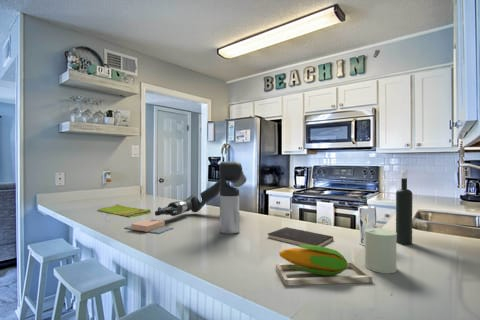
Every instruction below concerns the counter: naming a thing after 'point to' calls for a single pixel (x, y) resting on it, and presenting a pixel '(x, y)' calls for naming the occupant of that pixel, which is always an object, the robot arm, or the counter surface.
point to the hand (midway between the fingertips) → (155, 213)
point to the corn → (315, 259)
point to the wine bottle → (404, 212)
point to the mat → (158, 230)
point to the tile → (148, 225)
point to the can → (380, 250)
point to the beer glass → (366, 220)
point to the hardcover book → (300, 237)
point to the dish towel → (124, 211)
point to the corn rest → (323, 280)
